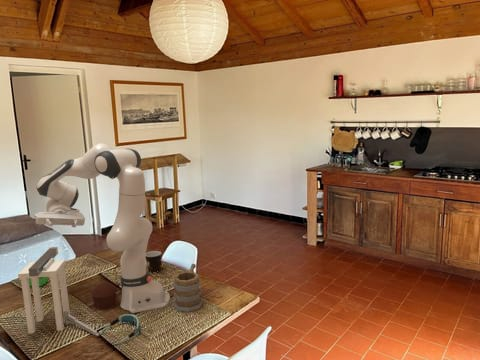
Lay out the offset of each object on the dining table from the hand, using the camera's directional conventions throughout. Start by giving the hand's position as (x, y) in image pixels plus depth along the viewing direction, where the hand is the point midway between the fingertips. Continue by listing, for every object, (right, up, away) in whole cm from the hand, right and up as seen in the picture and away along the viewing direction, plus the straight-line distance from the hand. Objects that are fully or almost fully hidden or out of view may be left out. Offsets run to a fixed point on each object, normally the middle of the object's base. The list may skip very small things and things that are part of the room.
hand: (62, 225), depth 166 cm
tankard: (+55, -37, +10) cm, 67 cm away
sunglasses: (+30, -42, -14) cm, 54 cm away
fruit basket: (-29, -35, +31) cm, 55 cm away
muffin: (+16, -38, +8) cm, 42 cm away
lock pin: (-3, -15, -9) cm, 18 cm away
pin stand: (-2, -41, -7) cm, 42 cm away
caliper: (+13, -42, -11) cm, 45 cm away
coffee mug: (+31, -31, +43) cm, 61 cm away
